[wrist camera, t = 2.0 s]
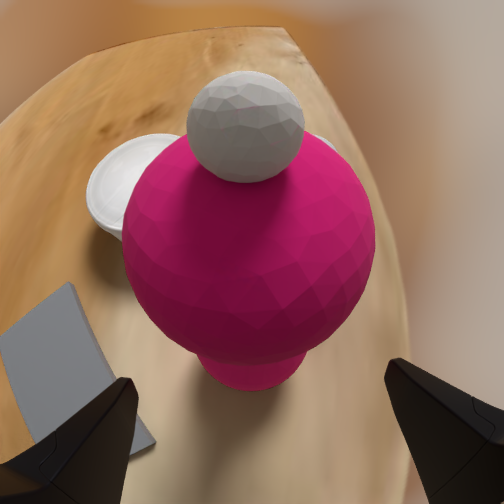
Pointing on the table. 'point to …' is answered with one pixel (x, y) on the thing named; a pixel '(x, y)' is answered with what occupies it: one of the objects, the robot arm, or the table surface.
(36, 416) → the slate board
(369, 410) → the table surface
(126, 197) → the ramekin
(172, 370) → the table surface
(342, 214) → the pepper mill
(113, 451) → the robot arm
